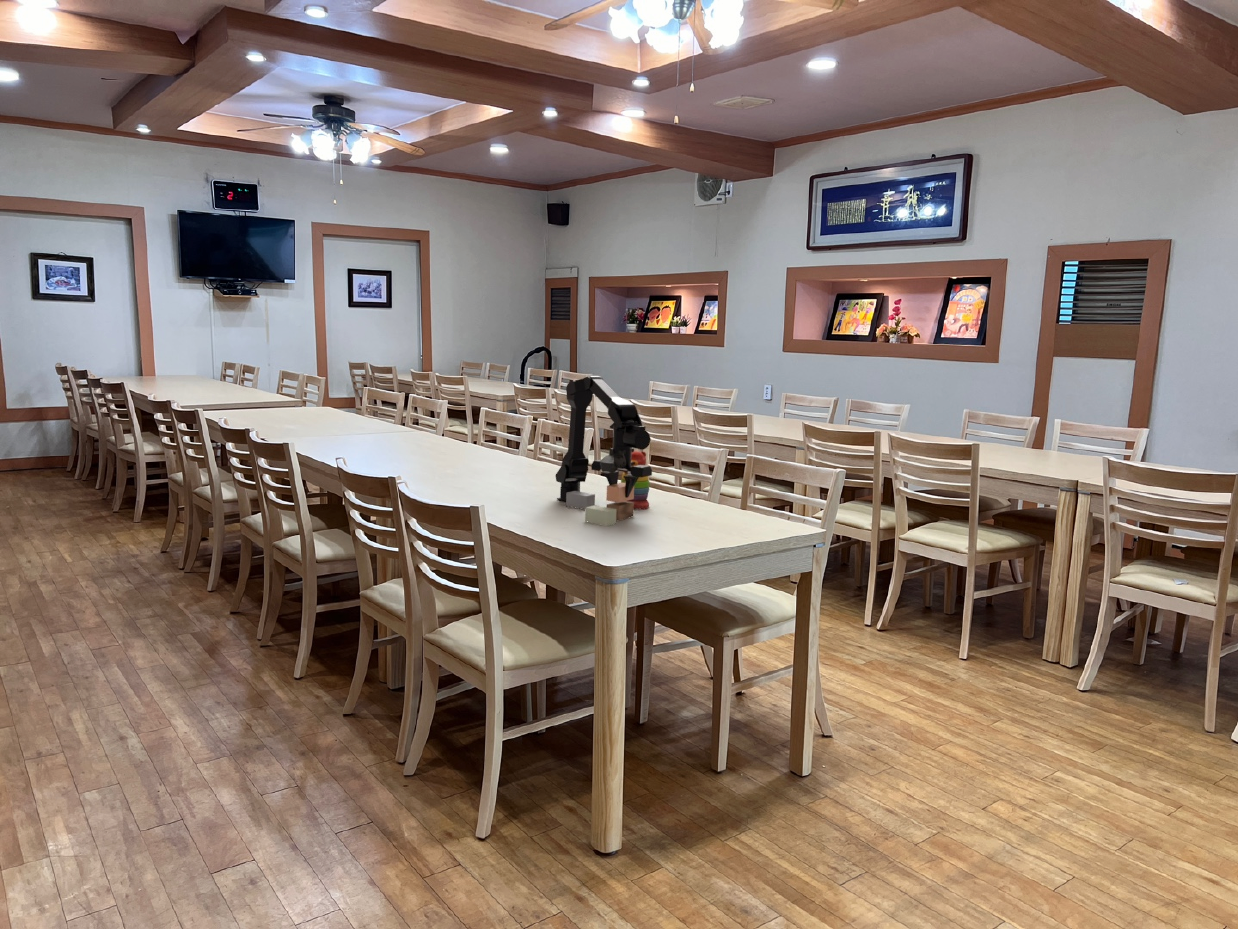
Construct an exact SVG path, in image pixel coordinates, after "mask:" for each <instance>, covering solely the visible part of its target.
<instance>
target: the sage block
mask: <svg viewBox="0 0 1238 929" xmlns="http://www.w3.org/2000/svg"><path fill="white" fill-rule="evenodd" d="M584 511H585V512H584V522H585V521H588V522H592V523H591V524H593V523H596V524H595V525H598V524H601V525H600V526H603V525H606V526H605V527H608V525H610V526H612V524H613V525H616V524H617V520H616V509H612V508H607V506H600V505H596V504H595V505H594V506H590V507H586V508H585V509H584ZM588 522H587V523H588ZM615 523H616V524H615Z"/></svg>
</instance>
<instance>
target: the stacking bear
mask: <svg viewBox="0 0 1238 929" xmlns="http://www.w3.org/2000/svg"><path fill="white" fill-rule="evenodd" d="M646 456H647V453H646V452H645V451H635V450H634V452H632V453H631V462H634V464H633V465H632V466H637V465H645V466H646V465H647V464H646V463H647V457H646ZM627 475H628V472H623V473H622V476H621V480H620V483H626V480H625V478H624V476H627ZM649 491H650V480H649V476H646V477H639V478H638V480H637V481H636V483H635V485H634V499H632V500H627V502H633V503H634V509H636V510H647V509H649V508H650V503H649V500H648V496H649Z"/></svg>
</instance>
